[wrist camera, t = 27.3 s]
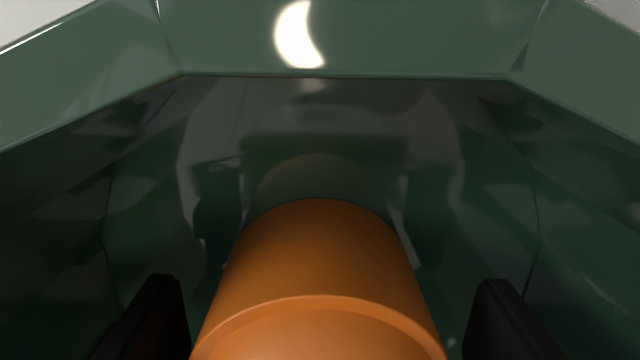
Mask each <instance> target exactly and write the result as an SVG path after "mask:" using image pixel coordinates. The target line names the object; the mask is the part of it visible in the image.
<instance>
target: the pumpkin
mask: <svg viewBox="0 0 640 360" xmlns="http://www.w3.org/2000/svg"><path fill="white" fill-rule="evenodd" d="M189 360H448V357H447V355H446V352H445V350H444V347H443V345H442V342H441V340H440V337H439V335H438V332H437V330H436V327H435V325H434V322H433V320H432V317H431V315H430V312H429V310H428V307H427V305H426V302H425V300H424V297H423V295H422V292H421V290H420V287H419V285H418V282H417V280H416V277H415V275H414V272H413V270H412V267H411V265H410V262H409V260H408V257H407V255H406V252H405V250H404V247H403V245H402V243H401V241H400V239H399V238H398V236H397V235H396V233H395V232H394V231H393V230H392V228H391V227H390V226H389V225H388V224H387V223H386V222H384V221H383V220H382V219H381V218H380V217H378V216H377V215H375V214H374V213H372V212H371V211H369V210H367V209H365V208H362V207H360V206H358V205H355V204H352V203H349V202H346V201H341V200H336V199H326V198H310V199H302V200H296V201H292V202H288V203H285V204H282V205H280V206H277V207H275V208H273V209H270V210H269V211H267V212H265V213H264V214H262V215H260V216H259V217H258V218H256V219H255V220H254V221H253V222H251V223H250V224H249V225H248V226H247V228H246V229H245V230H244V231H243V232H242V234H241V235H240V236H239V238H238V239H237V241H236V243H235V245H234V247H233V250H232V252H231V255H230V257H229V260H228V262H227V265H226V267H225V270H224V272H223V275H222V277H221V280H220V282H219V285H218V287H217V290H216V292H215V295H214V297H213V300H212V302H211V305H210V307H209V310H208V312H207V315H206V318H205V320H204V323H203V325H202V328H201V330H200V333H199V335H198V338H197V340H196V343H195V345H194V348H193V350H192V353H191V355H190V358H189Z"/></svg>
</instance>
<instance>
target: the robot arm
mask: <svg viewBox="0 0 640 360" xmlns="http://www.w3.org/2000/svg"><path fill="white" fill-rule="evenodd" d="M191 348H192V342H191V337H190V331H189V326H188V321H187V316H186V311H185V306H184V301H183V295H182V290H181V285H180V281H179V280H178V279H174V276H173V275H172V274H151V275H150V276H149V277H148V278H147V279H146V281H145V282H144V284H143V285H142V286H141V288H140V289H139V291H138V292H137V294H136V295H135V296H134V298H133V299H132V301H131V302H130V304H129V305H128V306H127V308H126V309H125V311H124V312H123V313H122V315H121V316H120V318H119V319H118V320H117V321H115V322H113V323H112V324H111V325H110V326H109V328H108V329H107V330H106V332H105V333H104V334H103V336H102V337H101V339H100V340H99V341H98V343H97V344H96V345H95V347H94V348H93V350H92V351H91V352H90V354H89V355H88V357H87V358H86V359H85V360H188V359H189V357H190V354H191ZM461 353H462V358H463V360H569V359H568V357H567V356H566V355H565V354H564V352H563V351H562V350H561V348H560V347H559V346H558V344H557V343H556V342H555V340H554V339H553V338H552V336H551V335H550V334H549V333H548V332H547V330H546V329H545V328H544V326H543V325H542V324H541V322H540V321H539V320H538V319H537V317H536V316H535V315H534V313H533V312H532V311H531V309H530V308H529V307H528V305H527V304H526V303H525V301H524V300H523V299H522V297H521V296H520V295H519V293H518V292H517V291H516V289H515V288H514V287H513V286H512V284H511V283H510V282H509V281H508V280H506V279H485V280H484V281H483V284H479V285H478V287H477V290H476V294H475V298H474V301H473V305H472V309H471V312H470V316H469V320H468V324H467V327H466V331H465V335H464V339H463V342H462V346H461Z"/></svg>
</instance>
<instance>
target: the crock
mask: <svg viewBox="0 0 640 360" xmlns="http://www.w3.org/2000/svg"><path fill="white" fill-rule="evenodd" d="M310 198H326V199H336V200H341V201H346V202H349V203H352V204H355V205H358V206H360V207H362V208H365V209H367V210H369V211H371V212H372V213H374V214H375V215H377V216H378V217H380V218H381V219H382V220H383V221H384V222H386V223H387V224H388V225H389V226H390V227H391V228H392V230H393V231H394V232H395V233H396V235H397V236H398V238H399V239H400V241H401V243H402V245H403V247H404V250H405V252H406V255H407V257H408V260H409V262H410V265H411V267H412V270H413V272H414V275H415V277H416V280H417V282H418V285H419V287H420V290H421V292H422V295H423V297H424V300H425V302H426V305H427V307H428V310H429V312H430V315H431V317H432V320H433V322H434V325H435V327H436V330H437V332H438V335H439V337H440V340H441V342H442V345H443V347H444V350H445V352H446V355H447V357H448V360H463V358H462V353H461V346H462V342H463V339H464V335H465V331H466V327H467V324H468V320H469V316H470V312H471V309H472V305H473V301H474V298H475V294H476V290H477V287H478V285H479V284H483V281H484V280H485V279H506V280H508V281H509V282H510V283H511V284H512V286H513V287H514V288H515V289H516V291H517V292H518V293H519V295H520V296H521V297H522V299H523V300H524V301H525V303H526V304H527V305H528V307H529V308H530V309H531V311H532V312H533V313H534V315H535V316H536V317H537V319H538V320H539V321H540V322H541V324H542V325H543V326H544V328H545V329H546V330H547V332H548V333H549V334H550V335H551V336H552V338H553V339H554V340H555V342H556V343H557V344H558V346H559V347H560V348H561V350H562V351H563V352H564V354H565V355H566V356H567V357H568V359H569V360H640V33H639V32H638V31H636V30H634V29H632V28H631V27H629V26H627V25H625V24H624V23H622V22H620V21H619V20H617V19H615V18H613V17H612V16H610V15H608V14H606V13H605V12H603V11H601V10H599V9H598V8H596V7H594V6H592V5H591V4H589V3H587V2H586V1H584V0H93V1H91V2H89V3H87V4H85V5H83V6H81V7H79V8H77V9H75V10H73V11H71V12H69V13H67V14H65V15H63V16H61V17H59V18H57V19H55V20H53V21H51V22H49V23H47V24H45V25H43V26H41V27H39V28H37V29H35V30H33V31H31V32H29V33H27V34H25V35H23V36H21V37H19V38H17V39H15V40H13V41H11V42H9V43H7V44H5V45H3V46H1V47H0V360H85V359H86V358H87V357H88V355H89V354H90V352H91V351H92V350H93V348H94V347H95V345H96V344H97V343H98V341H99V340H100V339H101V337H102V336H103V334H104V333H105V332H106V330H107V329H108V328H109V326H110V325H111V324H112V323H113V322H115V321H117V320H118V319H119V318H120V316H121V315H122V313H123V312H124V311H125V309H126V308H127V306H128V305H129V304H130V302H131V301H132V299H133V298H134V296H135V295H136V294H137V292H138V291H139V289H140V288H141V286H142V285H143V284H144V282H145V281H146V279H147V278H148V277H149V276H150V275H151V274H172V275H173V276H174V279H178V280H179V281H180V285H181V290H182V295H183V301H184V306H185V311H186V316H187V321H188V326H189V331H190V337H191V342H192V348H191V353H192V350H193V348H194V345H195V343H196V340H197V338H198V335H199V333H200V330H201V328H202V325H203V323H204V320H205V318H206V315H207V312H208V310H209V307H210V305H211V302H212V300H213V297H214V295H215V292H216V290H217V287H218V285H219V282H220V280H221V277H222V275H223V272H224V270H225V267H226V265H227V262H228V260H229V257H230V255H231V252H232V250H233V247H234V245H235V243H236V241H237V239H238V238H239V236H240V235H241V234H242V232H243V231H244V230H245V229H246V228H247V226H248V225H249V224H250V223H251V222H253V221H254V220H255V219H256V218H258V217H259V216H260V215H262V214H264V213H265V212H267V211H269V210H270V209H273V208H275V207H277V206H280V205H282V204H285V203H288V202H292V201H296V200H302V199H310ZM190 355H191V354H190ZM189 358H190V357H189ZM188 360H189V359H188Z"/></svg>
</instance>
